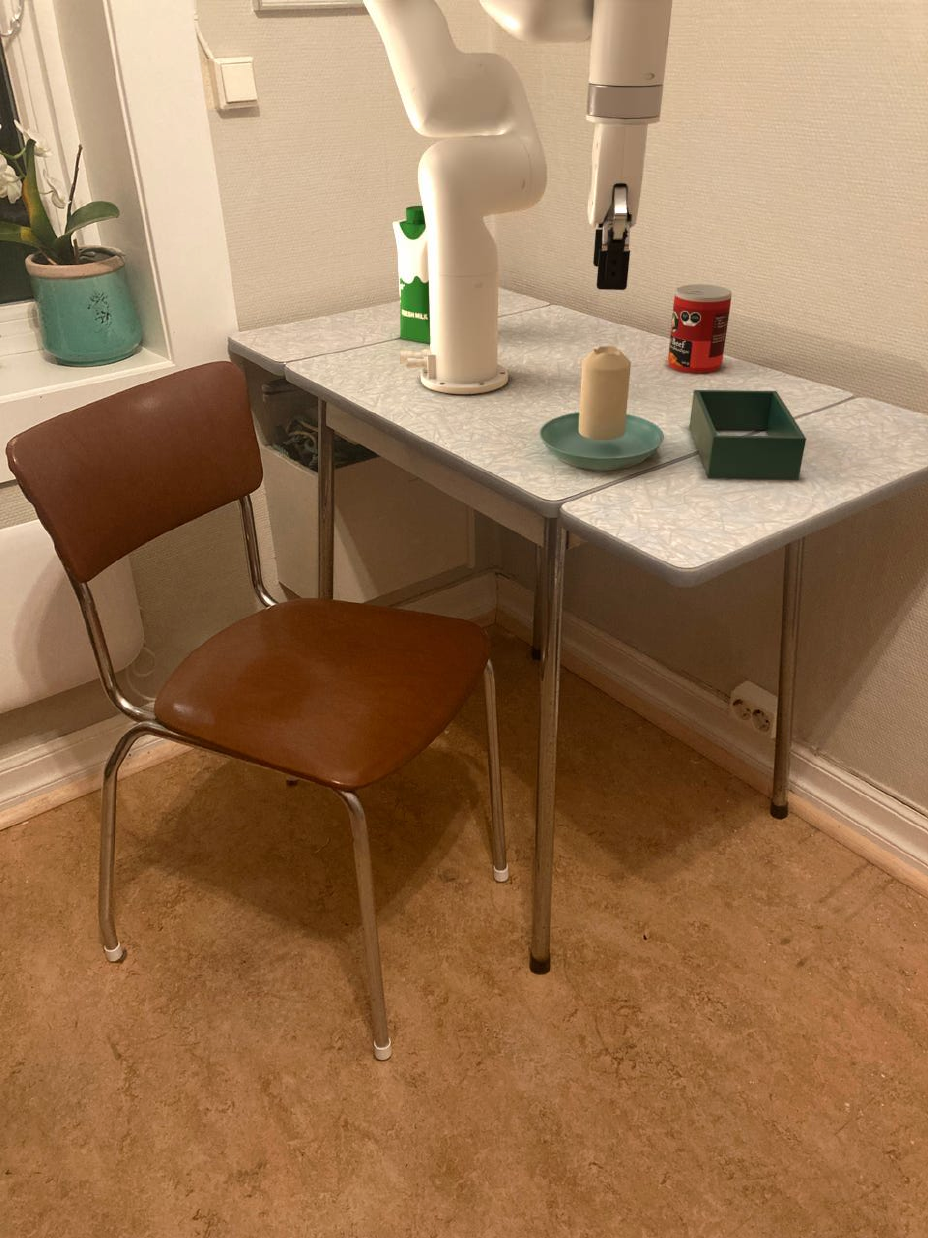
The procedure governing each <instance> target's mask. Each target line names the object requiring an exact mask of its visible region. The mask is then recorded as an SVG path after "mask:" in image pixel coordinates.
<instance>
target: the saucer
mask: <svg viewBox="0 0 928 1238" xmlns="http://www.w3.org/2000/svg"><path fill="white" fill-rule="evenodd" d="M579 412H580V411H578V412H577V411H576V412H570V413H566V414H563V415H559V416H556V417H554V418H551V419H549V420H548V421H546V422H545V423H544V424H542V426H541V427H540V429H539V432H538V433H539V434H538V435H539V437H540V439H541V441H542V444H544V445H545V447H546V448H547V450H549V451H550V452H551V453H552V455H554V457H556V458H558V459H559V460H560V461H562V462H563V463H564V464H567V465H570V466H572V467H575V468H579V469H583V470H590V471H603V472H604V471H605V472H606V471H618V470H624V469H628V468H632V467H634V466H636V465H638V464H640V463H641V462H643V461H644V460H646V459H647V458H649V457H650V456H651V455H652V454H654V453H655V452H656V451H657V449H658V448H659V447H660V446H661V445H662V443H663V442H664V440H665V435H664V432H663V431H662V429H661V428H660V426H658V425H656V424H655V423H654V422H651V421H649V420H647V419H645V418H643V417H640V416H636V415H634V414H630V413H627V414H626V425H625V432H624V435H623V436H622V437H620V438H618V439H614V440H593V439H589V438H586V437H584V436H582V435H581V434H580V433H579Z"/></svg>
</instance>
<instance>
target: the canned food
mask: <svg viewBox="0 0 928 1238" xmlns="http://www.w3.org/2000/svg"><path fill="white" fill-rule="evenodd" d="M673 298H674V299H673V307H672V315H671V323H670V324H671V325H670V335H669V344H668V354H667V361H668V364H669V365H668V366H669V367H670V368H672V369H673V370H676V371H678V372H682V373H687V374H709V373H713V372H717V371H719V370H720V369H721V366H722V364H723V359H724V353H725V347H726V346H725V345H726V339H727V332H728V326H729V318H730V311H731V304H732V303H731V302H732V291H731V290H730V289H729V288H727V287H724V286H719V285H714V284H713V285H712V284H702V283H701V284H700V283H697V284H686V285H681V286H679V287H677V288H676V289H675V291H674V296H673Z"/></svg>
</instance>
